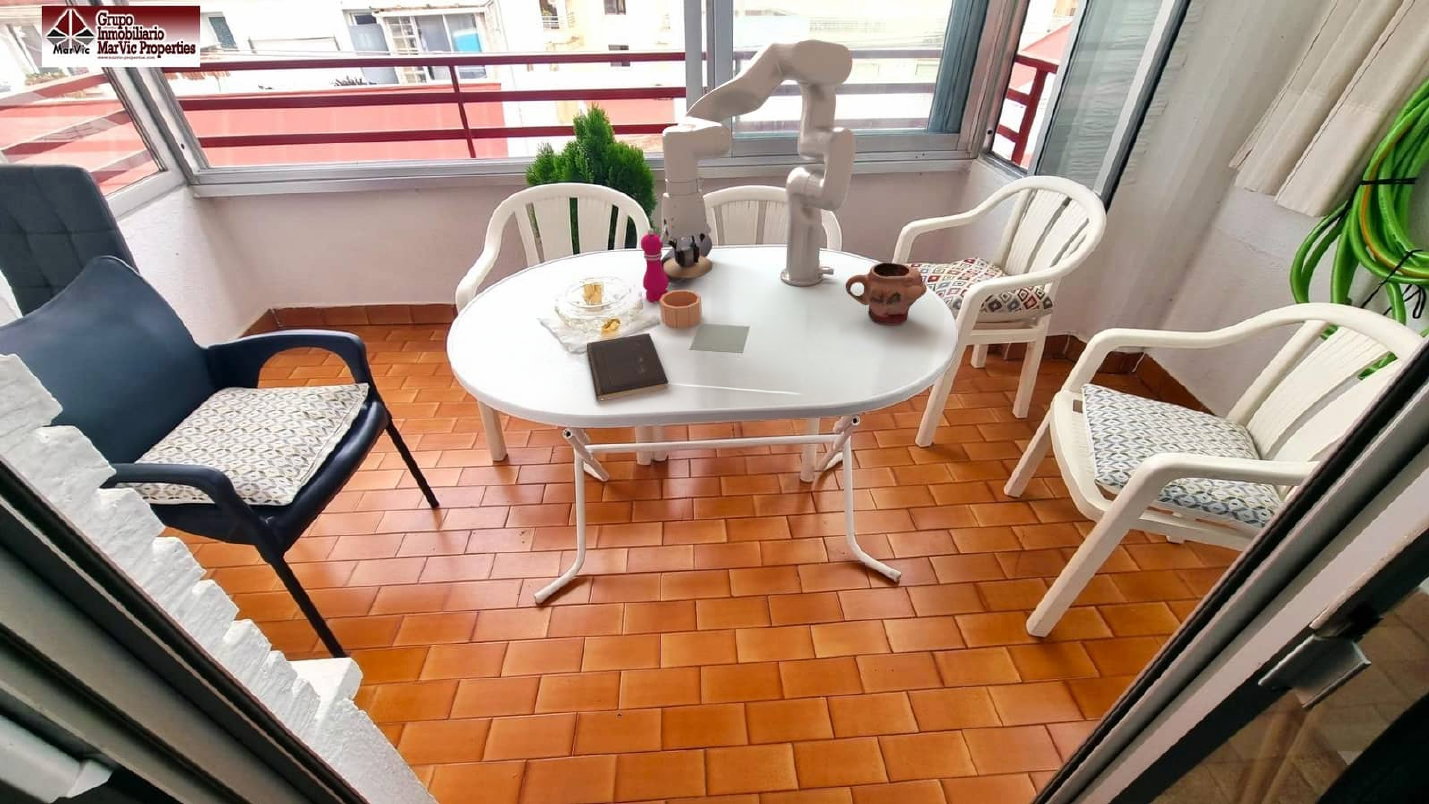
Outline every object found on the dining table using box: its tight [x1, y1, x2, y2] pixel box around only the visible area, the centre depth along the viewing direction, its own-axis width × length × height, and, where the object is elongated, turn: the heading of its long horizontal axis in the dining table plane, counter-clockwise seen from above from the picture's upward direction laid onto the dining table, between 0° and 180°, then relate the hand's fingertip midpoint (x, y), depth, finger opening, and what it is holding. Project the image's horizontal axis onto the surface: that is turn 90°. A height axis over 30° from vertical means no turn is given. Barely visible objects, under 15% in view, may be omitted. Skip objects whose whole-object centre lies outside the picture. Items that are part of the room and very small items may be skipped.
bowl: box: [659, 289, 703, 329], centre depth 152 cm, size 10×11×6 cm
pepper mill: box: [640, 228, 670, 303], centre depth 159 cm, size 7×7×20 cm
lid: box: [664, 247, 713, 279], centre depth 141 cm, size 12×12×5 cm
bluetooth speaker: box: [661, 234, 713, 284], centre depth 175 cm, size 23×9×10 cm, turn 159°
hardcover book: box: [586, 332, 669, 402], centre depth 135 cm, size 16×23×2 cm
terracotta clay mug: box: [844, 262, 928, 326], centre depth 147 cm, size 20×12×14 cm, turn 89°
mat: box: [689, 323, 750, 354], centre depth 145 cm, size 13×13×1 cm
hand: (687, 262), depth 141 cm, fingers closed on lid, 3 cm apart
